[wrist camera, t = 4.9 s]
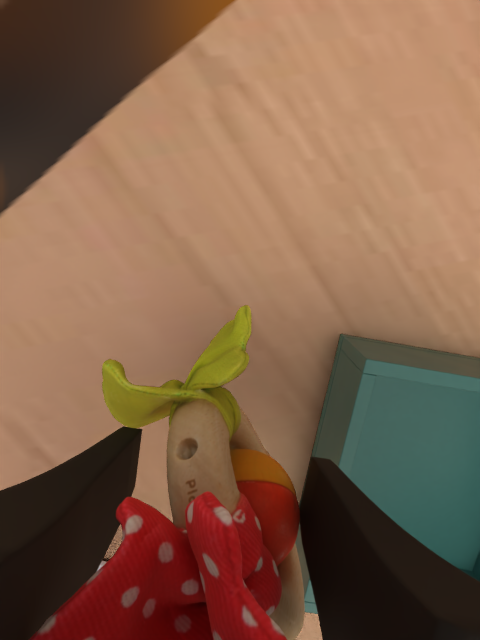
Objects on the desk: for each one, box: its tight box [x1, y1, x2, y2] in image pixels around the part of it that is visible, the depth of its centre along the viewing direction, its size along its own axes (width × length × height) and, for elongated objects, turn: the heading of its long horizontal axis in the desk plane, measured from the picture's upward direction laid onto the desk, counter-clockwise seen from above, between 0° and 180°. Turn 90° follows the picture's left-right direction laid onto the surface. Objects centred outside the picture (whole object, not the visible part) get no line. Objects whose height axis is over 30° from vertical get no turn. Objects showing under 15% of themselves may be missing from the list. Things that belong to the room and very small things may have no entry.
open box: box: [295, 334, 480, 614], centre depth 21 cm, size 14×12×5 cm
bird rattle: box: [29, 305, 305, 640], centre depth 11 cm, size 6×11×9 cm
